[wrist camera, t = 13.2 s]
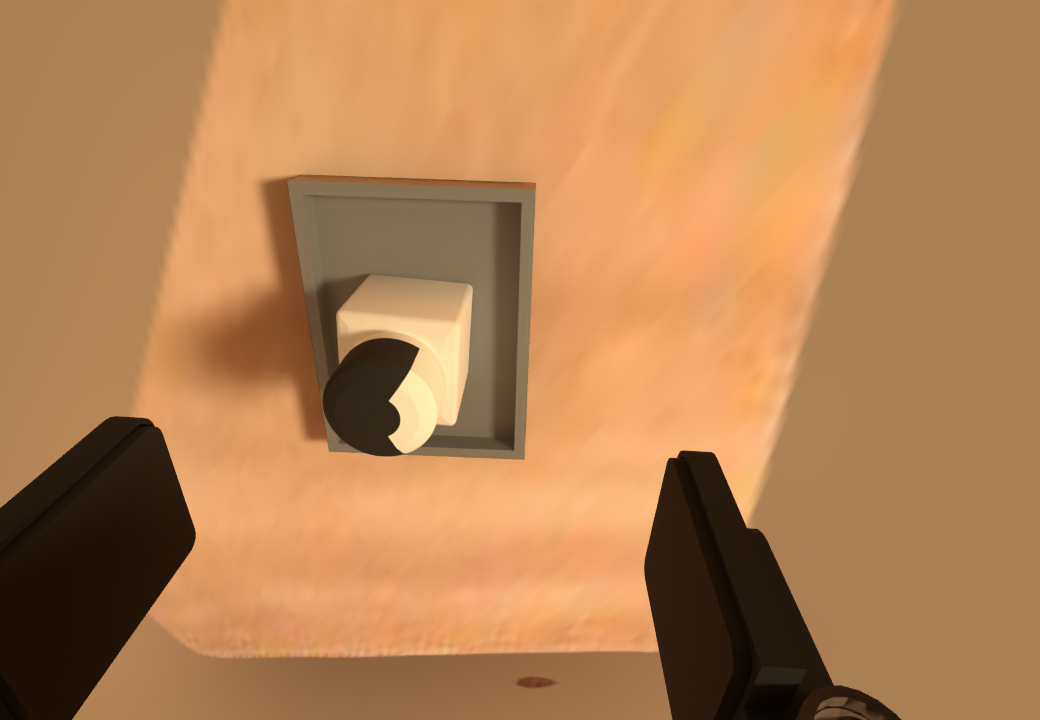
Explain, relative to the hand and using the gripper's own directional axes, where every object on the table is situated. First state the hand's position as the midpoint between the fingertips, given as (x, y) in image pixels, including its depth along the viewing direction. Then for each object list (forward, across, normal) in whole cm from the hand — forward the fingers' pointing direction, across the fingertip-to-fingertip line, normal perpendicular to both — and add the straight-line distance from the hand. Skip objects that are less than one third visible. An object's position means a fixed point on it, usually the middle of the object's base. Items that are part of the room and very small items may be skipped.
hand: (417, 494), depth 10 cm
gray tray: (+28, +5, +10) cm, 30 cm away
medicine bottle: (+27, +6, +10) cm, 30 cm away
